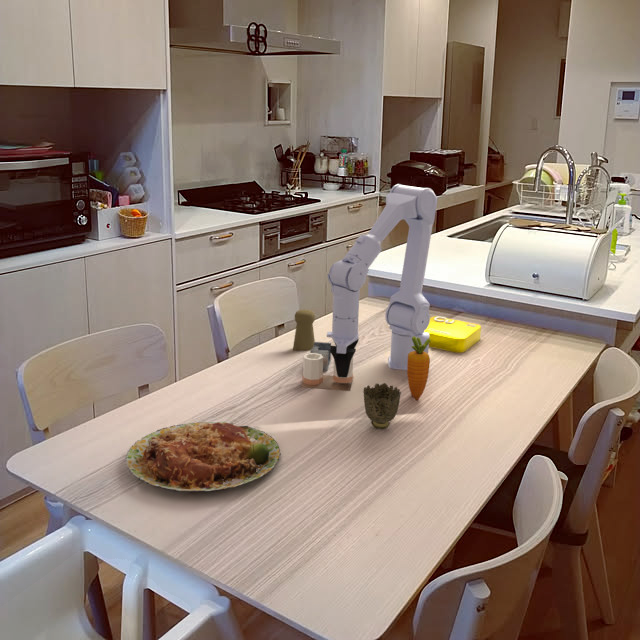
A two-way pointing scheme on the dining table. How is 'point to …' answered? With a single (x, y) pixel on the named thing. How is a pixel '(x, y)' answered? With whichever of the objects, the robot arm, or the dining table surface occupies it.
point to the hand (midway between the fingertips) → (343, 372)
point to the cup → (381, 404)
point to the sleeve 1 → (313, 368)
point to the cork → (304, 330)
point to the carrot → (418, 368)
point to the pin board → (330, 384)
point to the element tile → (452, 334)
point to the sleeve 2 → (344, 379)
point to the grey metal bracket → (323, 353)
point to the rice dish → (202, 456)
